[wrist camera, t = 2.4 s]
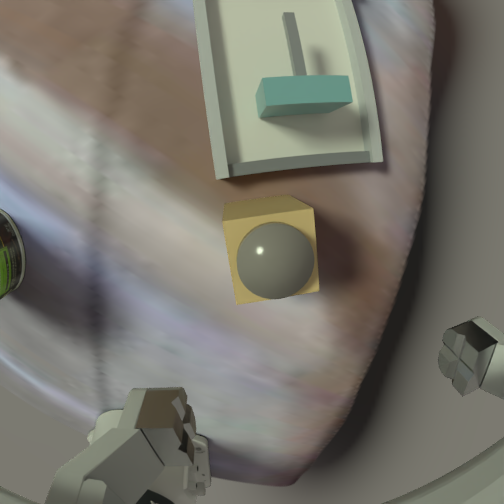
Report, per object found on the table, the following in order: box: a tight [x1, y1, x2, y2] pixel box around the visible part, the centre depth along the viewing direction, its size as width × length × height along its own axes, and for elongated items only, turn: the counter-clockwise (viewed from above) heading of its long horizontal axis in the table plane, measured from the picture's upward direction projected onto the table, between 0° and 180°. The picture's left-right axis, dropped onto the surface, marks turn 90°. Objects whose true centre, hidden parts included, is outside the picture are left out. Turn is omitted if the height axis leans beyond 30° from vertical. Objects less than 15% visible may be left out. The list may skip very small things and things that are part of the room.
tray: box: [193, 0, 383, 179], centre depth 20 cm, size 20×14×4 cm
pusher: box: [255, 12, 353, 118], centre depth 19 cm, size 8×6×5 cm
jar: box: [222, 195, 319, 305], centre depth 22 cm, size 6×6×9 cm
